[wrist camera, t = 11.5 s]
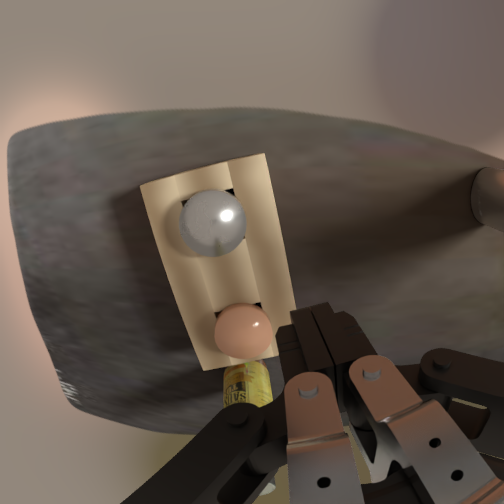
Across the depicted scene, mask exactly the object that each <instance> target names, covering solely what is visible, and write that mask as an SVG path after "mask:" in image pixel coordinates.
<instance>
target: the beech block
mask: <svg viewBox="0 0 504 504" xmlns="http://www.w3.org/2000/svg"><path fill="white" fill-rule="evenodd" d="M210 188H216V189H222V190H226V189H231V188H233V189H234V193H235V197H236V198H237V199H238V200H239V201H240V203H241V205H242V207H243V209H244V212H245V216H246V221H247V226H246V232H245V235H244V238H243V240H242V241H241V243H240V244H239V245H238V246H237V247H236V248H235V249H234V250H233V251H231V252H230V253H228V254H225V255H222V256H218V257H208V256H203V255H200V254H198V253H196V252H194V251H193V250H192V249H190V248H189V247H188V246H187V245H186V243H185V242H184V240H183V238H182V236H181V234H180V230H179V217H180V214H181V211H182V209H183V207H184V205H185V204H186V203H187V201H188V200H189V199H190V198H191V197H192V196H193V195H195V194H196V193H198V192H200V191H202V190H205V189H210ZM140 189H141V192H142V196H143V200H144V203H145V207H146V210H147V214H148V217H149V220H150V224H151V227H152V230H153V234H154V237H155V240H156V243H157V246H158V250H159V253H160V256H161V259H162V262H163V265H164V268H165V271H166V274H167V277H168V280H169V282H170V285H171V288H172V291H173V294H174V297H175V299H176V302H177V305H178V308H179V310H180V313H181V316H182V318H183V321H184V324H185V326H186V329H187V331H188V334H189V336H190V339H191V342H192V344H193V347H194V349H195V352H196V354H197V356H198V359H199V361H200V364H201V366H202V368H203V371H205V370H211V369H216V368H221V367H227V366H232V365H237V364H241V363H246V362H251V361H255V360H260V359H264V358H269V357H273V356H277V355H279V352H278V348H277V343H276V338H275V335H276V332H277V330H278V328H279V327H280V326H285V325H289V324H291V319H290V311H292V310H296V306H295V301H294V295H293V290H292V284H291V279H290V274H289V269H288V264H287V258H286V253H285V248H284V243H283V238H282V233H281V228H280V223H279V219H278V214H277V209H276V204H275V199H274V195H273V190H272V185H271V181H270V176H269V172H268V167H267V163H266V158H265V154H264V153H258V154H253V155H249V156H244V157H240V158H236V159H231V160H227V161H223V162H219V163H215V164H211V165H207V166H203V167H199V168H195V169H192V170H188V171H184V172H181V173H177V174H173V175H170V176H167V177H163V178H160V179H156V180H153V181H151V182H148V183H145V184H143V185H140ZM258 302H261V306H262V309H263V310H264V311H265V312H266V313H267V315H268V317H269V319H270V323H271V327H272V331H273V337H272V341H271V344H270V345H269V347H268V348H267V349H266V350H265V351H264V352H263V353H261V354H260V355H258V356H256V357H253V358H248V359H237V358H233V357H230V356H228V355H226V354H224V353H223V352H222V351H221V350H220V349H219V348H218V346H217V344H216V342H215V337H214V335H215V322H216V319H217V317H218V315H219V314H220V313H221V312H222V311H223V310H224V309H225V308H227V307H228V306H231V305H233V304H237V303H250V304H254V303H258Z"/></svg>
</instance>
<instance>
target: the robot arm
mask: <svg viewBox="0 0 504 504" xmlns="http://www.w3.org/2000/svg"><path fill="white" fill-rule="evenodd" d="M471 207H472V211H473V214H474V216H475V218H476V219H477V220H478V221H479V222H480V223H482V224H485V225H487V226H490V227H492V228H494V229H497V230H499V231H501V232H504V170H502V169H497V168H491V167H486V168H484V169H482V170H481V171H480V172H479V173H478V174H477V176H476V177H475V180H474V182H473V185H472V190H471ZM290 319H291V324H289V325H285V326H280V327H279V328H278V330H277V332H276V335H275V338H276V343H277V348H278V352H279V357H280V362H281V367H282V372H283V376H284V382H285V385H284V389H283V391H282V393H281V394H280V395H279V396H278V397H277V398H276V399H275V400H274V401H272V402H270V403H268V404H266V405H264V406H262V407H258V406H256V405H254V404H252V403H247V402H240V403H234V404H231V405H229V406H227V407H225V408H224V409H222V410H221V411H220V412H219V413H218V414H217V415H216V416H215V417H214V418H213V419H212V420H211V421H210V422H209V423H208V424H207V425H206V426H205V427H204V428H203V429H202V430H201V431H200V432H199V433H198V434H197V435H196V436H195V437H194V438H193V439H192V440H191V441H190V442H189V443H188V444H187V445H186V446H185V447H184V448H183V449H182V450H180V451H179V453H177V455H175V456H174V457H173V458H172V459H171V460H170V461H169V462H168V463H167V464H165V465H164V466H163V467H162V468H161V469H160V470H159V471H158V472H157V473H155V474H154V475H153V476H152V477H151V478H150V479H149V480H148V481H146V482H145V483H144V484H143V485H142V486H141V487H139V488H138V489H137V490H136V491H135V492H134V493H132V494H131V495H130V496H129V497H128V498H126V499H125V500H124V501H123V502H122V503H120V504H252V503H253V502H254V501H255V499H256V498H257V497H258V496H259V495H260V493H261V492H262V491H263V490H264V488H265V487H266V486H267V485H268V483H269V482H270V481H271V479H272V478H273V477H274V475H275V474H276V473H277V471H278V469H279V467H281V466H283V465H285V464H288V480H289V495H290V504H504V460H502V459H499V458H503V459H504V363H503V362H499V361H494V360H490V359H486V358H482V357H478V356H474V355H470V354H466V353H462V352H458V351H454V350H450V349H446V348H437V349H433V350H430V351H428V352H427V353H425V354H424V355H423V357H422V359H421V362H420V364H413V365H403V366H399V365H394V364H393V363H392V362H391V361H390V360H389V359H388V358H386V357H383V356H379V355H378V354H377V353H376V351H375V349H374V348H373V346H372V345H371V343H370V342H369V340H368V338H367V337H366V335H365V334H364V332H363V331H362V329H361V328H360V326H359V325H358V323H357V321H356V320H355V318H354V317H353V316H352V315H350V314H348V313H346V312H345V311H342V312H338V313H334V312H333V310H332V308H331V306H330V305H329V303H328V302H326V303H322V304H317V305H313V306H309V308H308V307H305V308H301V309H297V310H292V311H290ZM453 397H454V398H458V399H461V400H465V401H468V402H472V403H475V404H479V405H482V406H485V407H487V409H479V408H476V407H472V406H469V405H465V404H462V403H459V402H455V401H452V399H453ZM345 411H347V414H348V416H349V428H350V431H351V433H352V435H353V437H354V439H355V441H356V443H357V445H358V447H359V449H360V451H361V453H362V455H363V458H364V460H365V462H366V464H367V466H368V468H369V471H370V474H371V481H372V483H369V484H360V480H359V476H358V471H357V467H356V463H355V459H354V455H353V451H352V447H351V443H350V439H349V436H348V434H347V433H345V432H344V428H343V424H342V420H341V416H340V413H342V412H345ZM478 452H481V453H478ZM483 453H485V454H483ZM486 454H488V455H486ZM489 455H492V456H495V457H492V456H489ZM496 457H499V458H496Z"/></svg>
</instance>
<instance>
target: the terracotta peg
mask: <svg viewBox="0 0 504 504" xmlns="http://www.w3.org/2000/svg"><path fill="white" fill-rule="evenodd" d="M214 337H215V342H216V344H217V346H218V348H219V349H220V350H221V351H222V352H223V353H224V354H226V355H228V356H230V357H233V358H237V359H248V358H253V357H256V356H258V355H260V354H261V353H263V352H264V351H265V350H266V349H267V348H268V347H269V345H270V344H271V341H272V337H273V331H272V327H271V323H270V319H269V317H268V315H267V313H266V312H265V311H264V310H263V309H262V308H260V307H258V306H256V305H255V303H254V304H250V303H237V304H233V305H231V306H228V307H227V308H225V309H224V310H223V311H222V312H221V313H220V314H219V315H218V317H217V319H216V322H215V335H214Z"/></svg>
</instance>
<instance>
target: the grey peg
mask: <svg viewBox="0 0 504 504" xmlns="http://www.w3.org/2000/svg"><path fill="white" fill-rule="evenodd" d="M246 226H247V221H246V216H245V212H244V209H243V207H242V205H241V203H240V201H239V200H238V199H237V198H236V197H235V196H234V195H232V194H231V193H229V192H227V191H225V190H222V189H216V188H210V189H205V190H202V191H200V192H198V193H196V194H195V195H193V196H192V197H191V198H190V199H189V200H188V201H187V203H186V204H185V205H184V207H183V209H182V211H181V214H180V217H179V230H180V234H181V236H182V238H183V240H184V242H185V243H186V245H187V246H188V247H189V248H190V249H192V250H193V251H194V252H196V253H198V254H200V255H203V256H208V257H218V256H222V255H225V254H228V253H230V252H231V251H233V250H234V249H235V248H236V247H237V246H238V245H239V244H240V243H241V241H242V240H243V238H244V235H245V232H246Z"/></svg>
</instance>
